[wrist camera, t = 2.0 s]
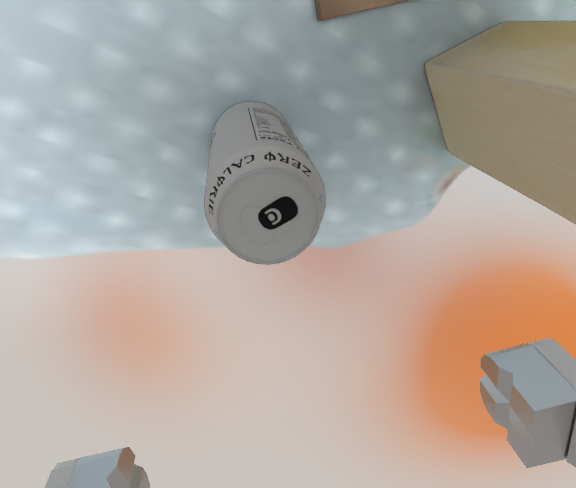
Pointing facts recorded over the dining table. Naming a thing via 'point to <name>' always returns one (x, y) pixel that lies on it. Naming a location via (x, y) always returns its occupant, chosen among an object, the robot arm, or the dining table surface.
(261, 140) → the energy drink can
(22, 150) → the dining table surface
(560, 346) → the robot arm
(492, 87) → the toy refrigerator
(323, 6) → the jig board
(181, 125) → the dining table surface
